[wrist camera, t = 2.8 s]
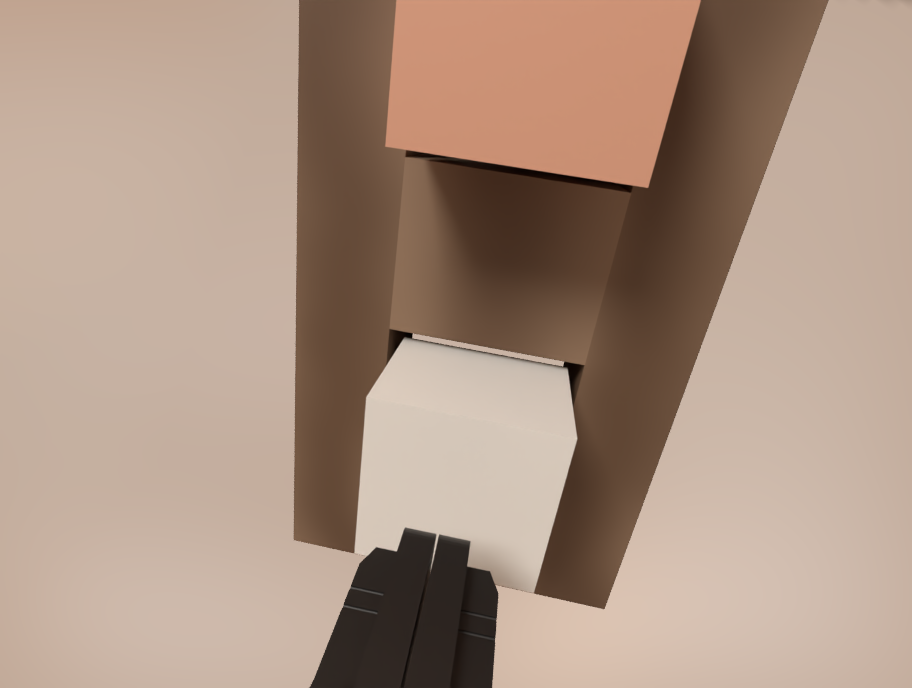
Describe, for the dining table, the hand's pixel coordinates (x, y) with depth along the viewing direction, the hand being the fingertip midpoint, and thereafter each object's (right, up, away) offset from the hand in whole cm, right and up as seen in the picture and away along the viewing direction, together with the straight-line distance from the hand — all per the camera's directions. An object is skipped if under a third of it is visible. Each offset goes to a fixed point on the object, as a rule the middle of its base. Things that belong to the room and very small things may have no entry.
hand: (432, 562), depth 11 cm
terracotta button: (+3, +12, +2) cm, 13 cm away
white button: (+1, +2, +6) cm, 7 cm away
